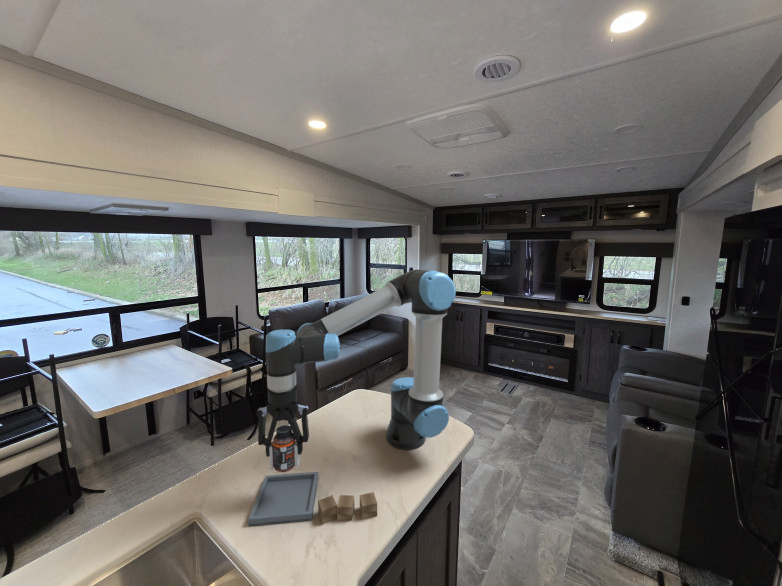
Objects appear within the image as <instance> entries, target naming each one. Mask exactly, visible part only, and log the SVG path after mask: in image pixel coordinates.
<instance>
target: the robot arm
mask: <svg viewBox="0 0 782 586" xmlns="http://www.w3.org/2000/svg"><path fill="white" fill-rule="evenodd" d="M456 294H457V293H456V286H455V283H454V282H453V280H452V279H451V277H449V275H447V274H446V273H444V272H439V271H437V270H426V269H425V270H424V269H413V270H410V271H407V272H404V273H403V274H401V275H399V276H397V277H395V278H393V279H391V280H389V281H387V282H386V283H385V285H384V286H383V287H381V288H379V289H378V290H376V291H374V292H372V293H370V294H367V295H366V296H364V297H362V298H361V299H360V298H359V299H358V300H355V301H354V302H352V303H350V304H348V305H346V306H344V307H342V308H340V309H338V310H336V311H334V312H332V313H330V314H328V315H326V316H324V317H323V318H321V319H318V320H317V321H314V322H307V323H304V324H302V325H301V326H299V328H298V330H297V333H296V332H295V331H294V330H292V329H274V330H272V331H270V332H268V333H267V334H266V337H265V360H266V361H265V362H266V382H267V383H266V385H267V405H266V406H264V407H263V406H260V407H259V408H258V409H257V411H256V413H255V415H256V417H257V419H258V431H257V433H258V434H257V444H258V445H259V446H265V455H266V457H267V458H268V457H269V469H270V470H274V456H273V438H274V434H275V431H276V429H277V428H276V427H277V424H278V422H280V421H286V422H287V423H288V425H289V426H290V427H291V430H292V432H293V434H294V437H295V445H294V453H295V466H294V468H299V464H300V455H302V454H303V449H304V447H303V443H307V442H308V441H309V437H310V430H309V420H308V419H309V418H308V410H309V407H310V406H309V404H304V405H301V404H300V403H299V402H298V392H297V389H298V388H297V384H298V383H297V365H304V364H311V363H319V362H320V363H323V362H328V361H333V360H336V359H338V358H339V356H340V352H341V345H340V344H341V343H340V339H339V336H340V335H343V334H344V333H346V332H348V331H350V330H352V329H353V328H355V327H357V326H359V325H361V324H364V323H365V322H367V321H369V320H371V319H372V318H374V317H376V316H378V315H380V314H382V313H384V312H386V311H388V310H390V309H391V308H393V307H396V308H397V307H398V308H399V307H401V306H403V305H406V304H410V303H411V313H412V314H413V316H415V317H414V318H415V330H414V331H415V332H414V356H413V358H414V360H413V363H414V364H413V377H400V378H397V379H394V380H393V381H392V382H391V387H390V420H389V424H388V426H387V428H386V437H385V439H386V441H387V442H388V444H389V445H390V446H391V447H394V448H396V449H400V450H414V449H417V448H420V447H422V446H424V444H425V442H426V441H427V439H431V438H435V437H437V436H439V435H440V434H441V433H443V431H444V430H445V429H446V427H447V426H448V424H449V421H450V413H449V411H448V410H447V408H446V406H444V392H443V391H442V390H441V389H440V377H441V375H440V374H441V373H440V372H441V356H442V337H443V336H442V334H443V333H442V331H443V318H445V317H446V316H447V315H448V309H449V308H450V307H451V306H452V304H453V303H454V301H455V298H456ZM297 411H298V412H299V414H300V415H301V419H300V421H301V429H302V432H301V430H300V426H299V424H298V422H297V419H296V413H297ZM267 414H269V415H270V416H271V417H272V419H271V422H270V423H271V424H270V426H269V427H270V428H269V431H268V433H267V437H266V417H267V416H266V415H267Z"/></svg>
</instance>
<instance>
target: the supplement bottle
mask: <svg viewBox="0 0 782 586" xmlns="http://www.w3.org/2000/svg"><path fill="white" fill-rule="evenodd" d="M275 431H276V432H275V433H276V434H275V435H273V438H272V441H273V456H274V468H273V470H275V471H276V472H277V473H286V472H289V471H291V470H292V469H294V468H295V453H294V445H295V442H296V440H295V437H294V434H293V432H292V429H291V427H290V424H285V425H284V424H282V425H280V426H278V427H277V428H276V429H275Z"/></svg>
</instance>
